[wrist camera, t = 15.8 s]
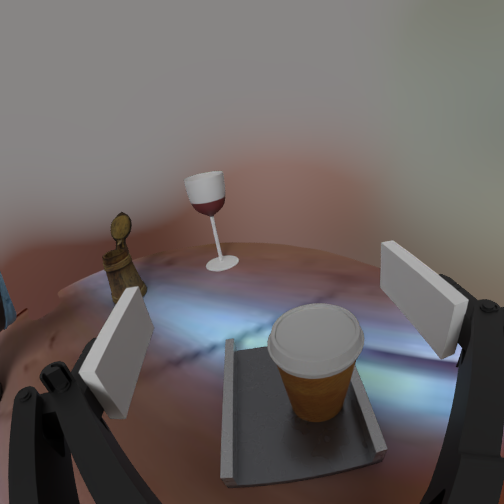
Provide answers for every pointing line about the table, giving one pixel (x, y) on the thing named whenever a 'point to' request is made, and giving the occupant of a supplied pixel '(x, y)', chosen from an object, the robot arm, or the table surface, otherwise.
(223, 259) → the wineglass
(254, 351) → the tray
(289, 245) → the table surface
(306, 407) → the disposable coffee cup
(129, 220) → the wooden mug
